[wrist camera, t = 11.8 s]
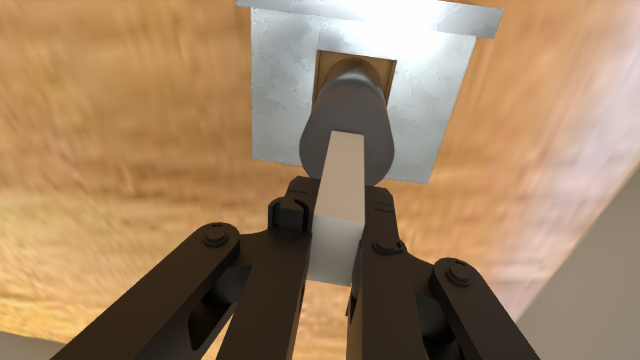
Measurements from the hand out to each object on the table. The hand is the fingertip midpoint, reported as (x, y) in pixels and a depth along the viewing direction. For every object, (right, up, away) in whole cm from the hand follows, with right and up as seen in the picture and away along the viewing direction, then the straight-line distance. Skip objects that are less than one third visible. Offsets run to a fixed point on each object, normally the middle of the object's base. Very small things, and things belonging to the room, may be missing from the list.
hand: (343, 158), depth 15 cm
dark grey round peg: (+2, +7, +12) cm, 14 cm away
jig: (+2, +7, +12) cm, 14 cm away
